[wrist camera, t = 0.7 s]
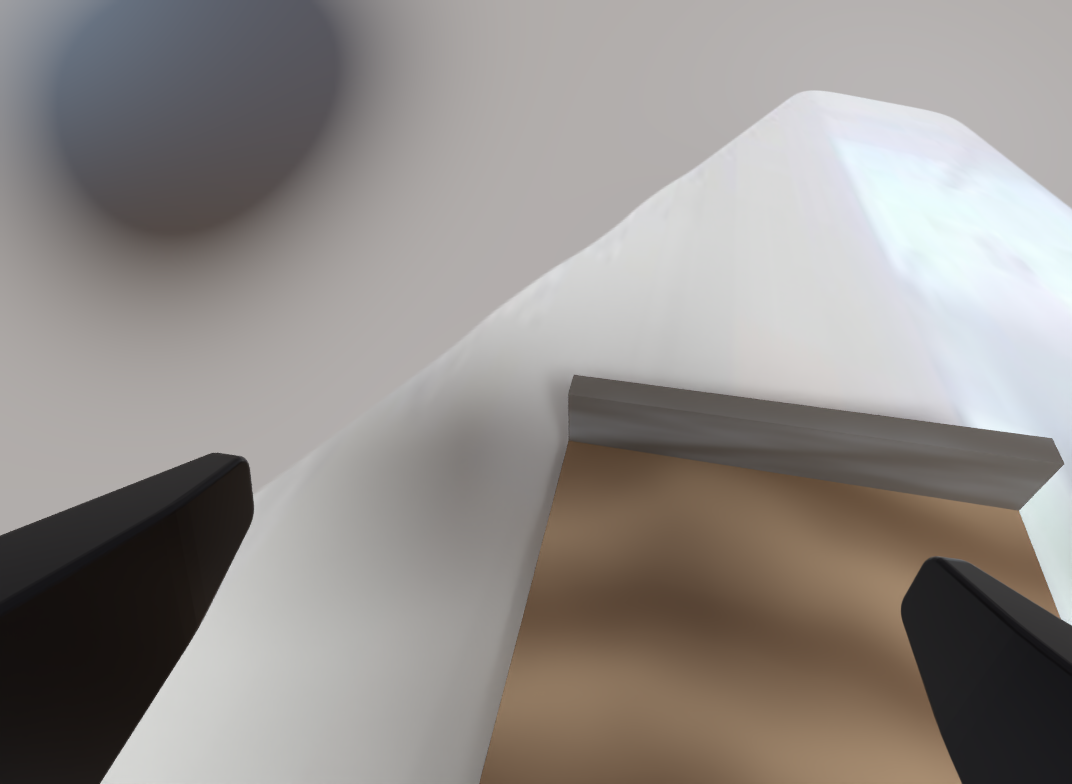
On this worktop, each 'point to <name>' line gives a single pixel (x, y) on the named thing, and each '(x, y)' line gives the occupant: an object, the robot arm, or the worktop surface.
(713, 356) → the worktop surface
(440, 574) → the worktop surface
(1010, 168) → the worktop surface
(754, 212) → the worktop surface
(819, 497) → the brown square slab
